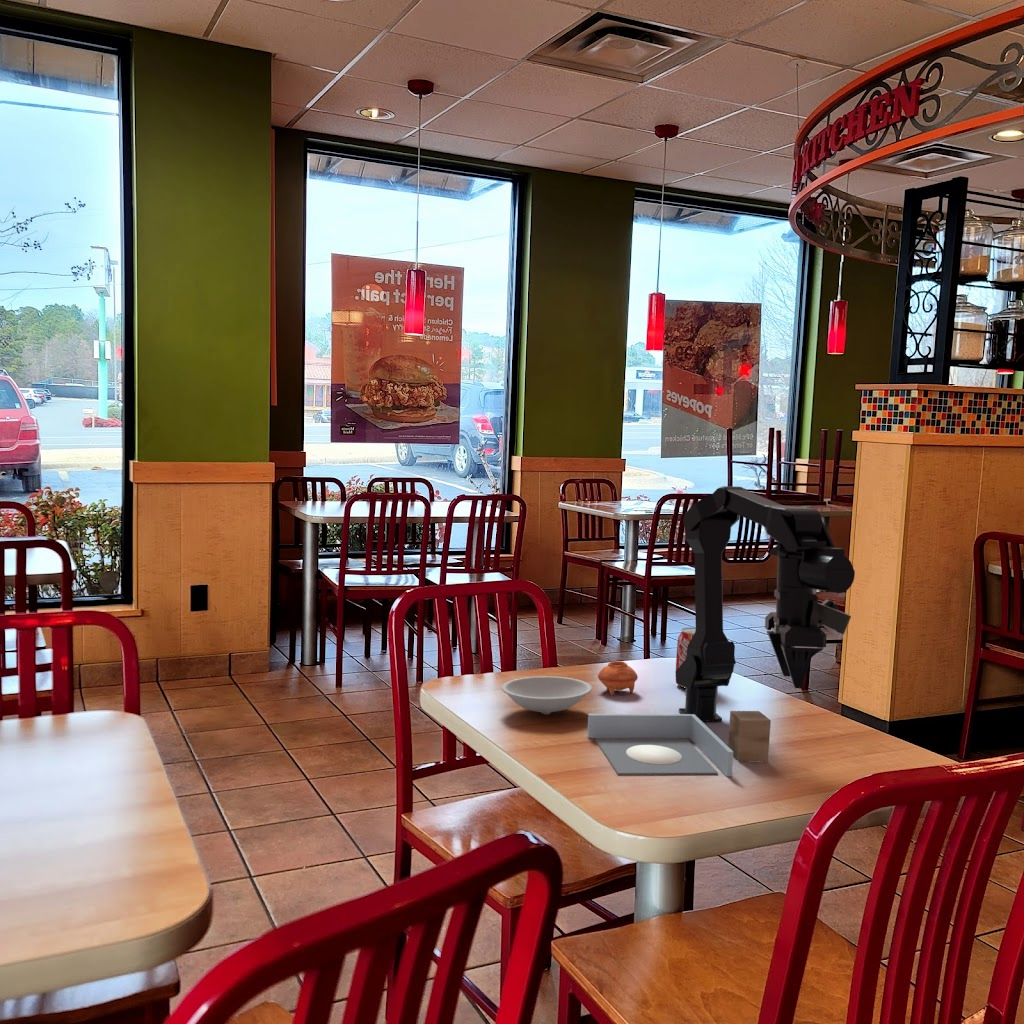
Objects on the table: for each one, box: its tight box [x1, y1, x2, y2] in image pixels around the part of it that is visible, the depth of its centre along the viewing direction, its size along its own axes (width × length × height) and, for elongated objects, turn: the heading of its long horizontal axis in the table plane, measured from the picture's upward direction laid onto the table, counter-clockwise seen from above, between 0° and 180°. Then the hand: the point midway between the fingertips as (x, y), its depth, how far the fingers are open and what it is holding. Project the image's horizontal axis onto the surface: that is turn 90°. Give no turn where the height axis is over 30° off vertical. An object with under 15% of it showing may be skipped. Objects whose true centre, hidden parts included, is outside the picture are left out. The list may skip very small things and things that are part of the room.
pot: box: [597, 660, 639, 696], centre depth 193 cm, size 8×8×7 cm
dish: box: [501, 675, 593, 715], centre depth 177 cm, size 18×14×5 cm
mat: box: [594, 738, 719, 776], centre depth 156 cm, size 16×16×1 cm
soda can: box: [675, 627, 696, 688], centre depth 199 cm, size 7×7×12 cm
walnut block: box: [727, 710, 772, 763], centre depth 158 cm, size 5×5×7 cm
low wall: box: [586, 713, 734, 778], centre depth 157 cm, size 19×19×4 cm
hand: (792, 681), depth 155 cm, fingers open, 9 cm apart
